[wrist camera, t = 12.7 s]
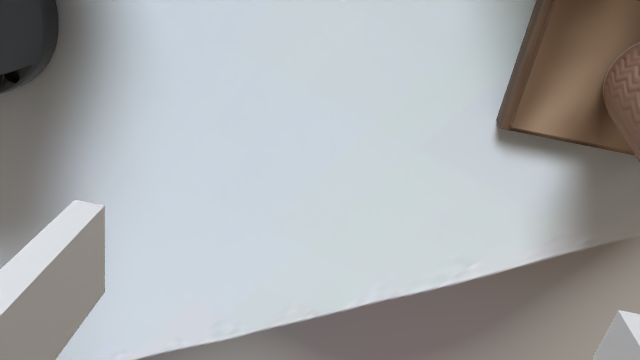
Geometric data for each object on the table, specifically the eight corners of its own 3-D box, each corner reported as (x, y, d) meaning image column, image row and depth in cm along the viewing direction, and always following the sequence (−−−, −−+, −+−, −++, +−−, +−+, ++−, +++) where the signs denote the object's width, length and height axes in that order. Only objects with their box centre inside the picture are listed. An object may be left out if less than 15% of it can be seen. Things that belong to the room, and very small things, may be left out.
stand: (496, 119, 47) (503, 132, 45) (545, -27, 42) (556, -23, 39) (657, 151, 47) (674, 166, 44) (728, 8, 42) (751, 15, 39)
